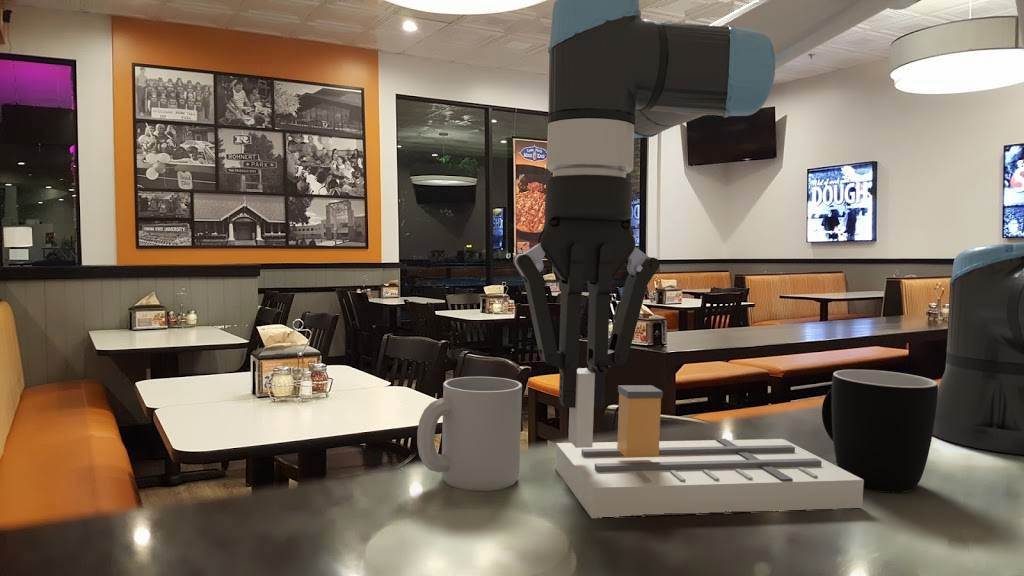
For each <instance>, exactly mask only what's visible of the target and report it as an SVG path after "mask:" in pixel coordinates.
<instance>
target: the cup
mask: <svg viewBox="0 0 1024 576" xmlns="http://www.w3.org/2000/svg"><path fill="white" fill-rule="evenodd" d="M442 387H443V388H442V389H443V391H442V393H443V394H442V397H440V398H438V399H435V400H434V401H431V402H430V403H429V404H428V406H426V407H425V408H424V410H423V412H422V414H421V415H420V418H419V421H418V426H417V432H416V434H417V436H416V439H417V440H416V444H417V450H418V455H419V458H420V460H421V461H422V464H423V466H425V467H426V468H427V469H428V470H430V471H431V472H435V473H441V476H442V479H443V481H444V482H445V483H446V484H447V485H449V486H451V487H452V488H455V489H459V490H464V491H469V492H492V491H493V492H494V491H499V490H504V489H507V488H510V487H512V486H513V485H514V484H516V482H517V481H518V479H519V477H520V467H521V466H520V465H521V435H522V400H523V399H522V398H523V397H522V394H523V385H522V383H521V382H520V381H518V380H513V379H510V378H504V377H495V376H463V377H456V378H450V379H447V380H444V382H443V386H442ZM441 417H442V432H441V433H442V435H441V436H442V437H441V454H440V453H438V452H437V449H436V444H435V434H436V428H437V424H438V421H439V420H440V418H441Z"/></svg>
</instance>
